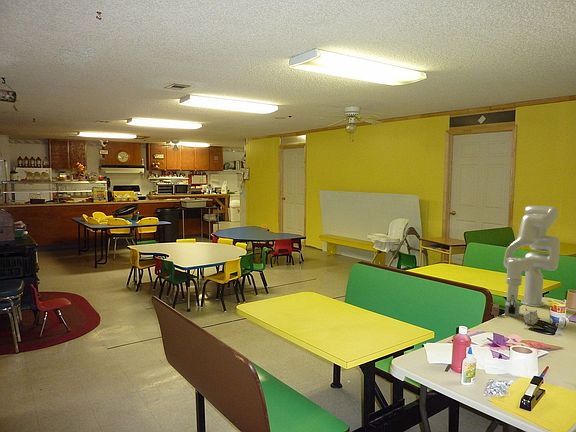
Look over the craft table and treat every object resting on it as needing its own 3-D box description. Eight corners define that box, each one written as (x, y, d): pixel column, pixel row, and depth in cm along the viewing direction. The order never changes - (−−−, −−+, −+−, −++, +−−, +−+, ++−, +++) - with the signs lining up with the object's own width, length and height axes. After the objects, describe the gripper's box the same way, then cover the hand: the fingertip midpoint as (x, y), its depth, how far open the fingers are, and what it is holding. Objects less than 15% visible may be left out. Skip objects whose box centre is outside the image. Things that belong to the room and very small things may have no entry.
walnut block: (489, 312, 241) (489, 303, 240) (498, 313, 238) (499, 304, 238) (488, 314, 236) (488, 305, 236) (498, 315, 234) (498, 307, 233)
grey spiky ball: (532, 331, 221) (545, 316, 220) (532, 330, 214) (545, 315, 213) (516, 319, 226) (529, 305, 225) (516, 318, 219) (528, 303, 218)
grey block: (505, 311, 241) (505, 301, 240) (519, 314, 238) (519, 303, 237) (504, 315, 235) (505, 304, 234) (518, 317, 231) (519, 306, 231)
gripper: (507, 277, 244) (505, 306, 245) (505, 283, 229) (503, 314, 230) (521, 279, 240) (519, 308, 241) (521, 285, 225) (519, 316, 227)
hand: (511, 311), depth 236 cm, fingers open, 9 cm apart
